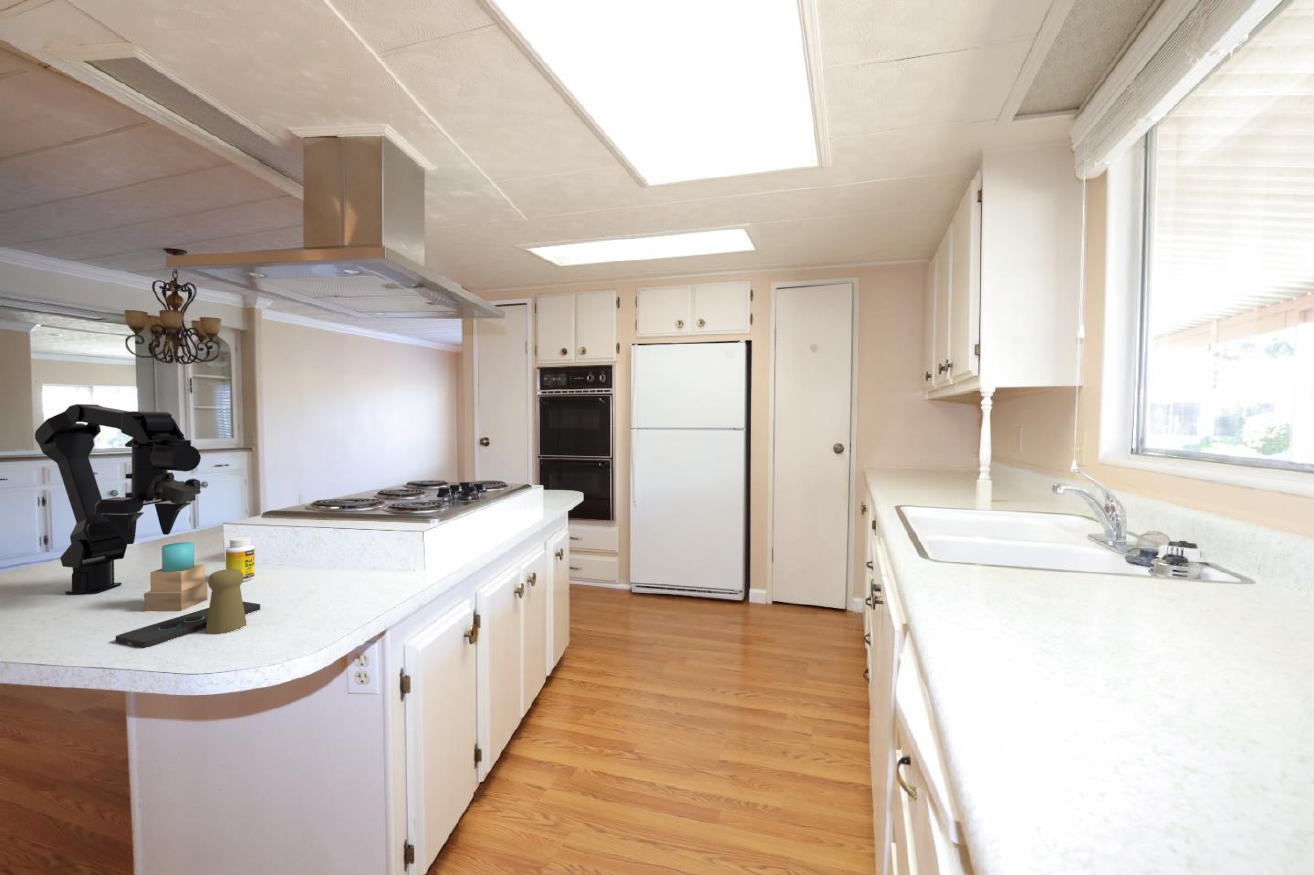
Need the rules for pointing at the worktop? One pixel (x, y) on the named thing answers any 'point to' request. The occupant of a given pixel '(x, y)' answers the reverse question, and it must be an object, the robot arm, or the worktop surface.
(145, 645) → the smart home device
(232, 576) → the olive pawn piece
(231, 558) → the supplement bottle
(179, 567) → the teal cylinder
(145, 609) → the brown wooden base block
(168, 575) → the oak top block
